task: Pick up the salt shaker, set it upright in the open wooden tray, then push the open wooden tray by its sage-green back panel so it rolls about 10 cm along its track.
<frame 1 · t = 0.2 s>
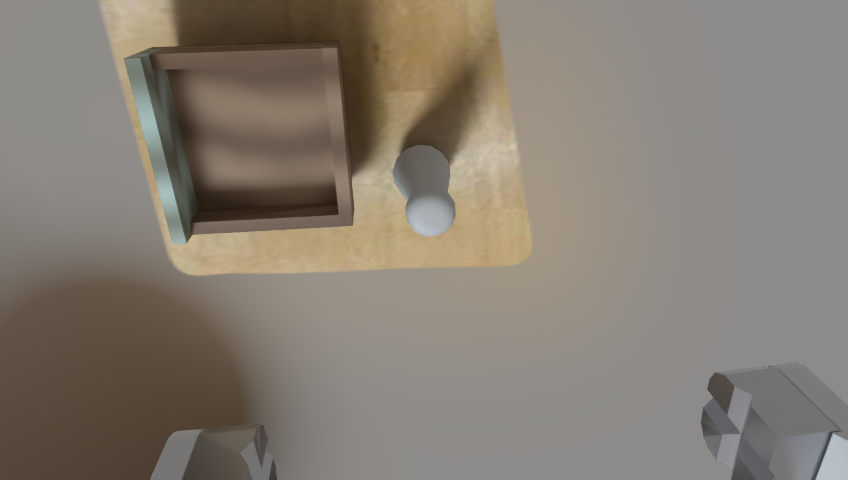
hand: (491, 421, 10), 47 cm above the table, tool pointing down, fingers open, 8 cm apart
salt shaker: (419, 164, 58), on the table
open wooden tray: (258, 138, 50), point 5 cm above the table, slide at 0.0 cm
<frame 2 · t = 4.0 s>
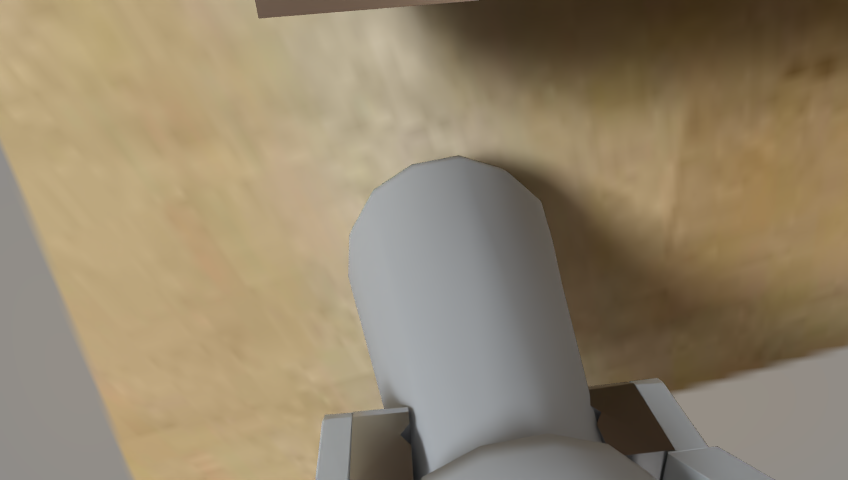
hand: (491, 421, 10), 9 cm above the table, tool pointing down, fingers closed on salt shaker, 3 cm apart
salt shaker: (440, 219, 18), on the table, touching gripper
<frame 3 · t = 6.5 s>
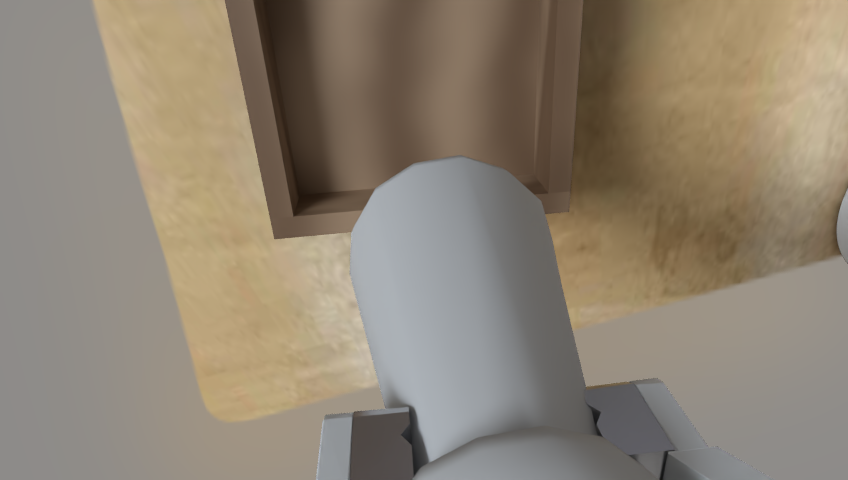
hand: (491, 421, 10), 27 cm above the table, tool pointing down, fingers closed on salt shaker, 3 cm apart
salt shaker: (441, 218, 18), point 18 cm above the table, touching gripper
open wooden tray: (410, 63, 28), point 5 cm above the table, slide at 0.0 cm
when the fingers open (15 cm above the table, at t = 9.4 s): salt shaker drops 1 cm, resting on open wooden tray.
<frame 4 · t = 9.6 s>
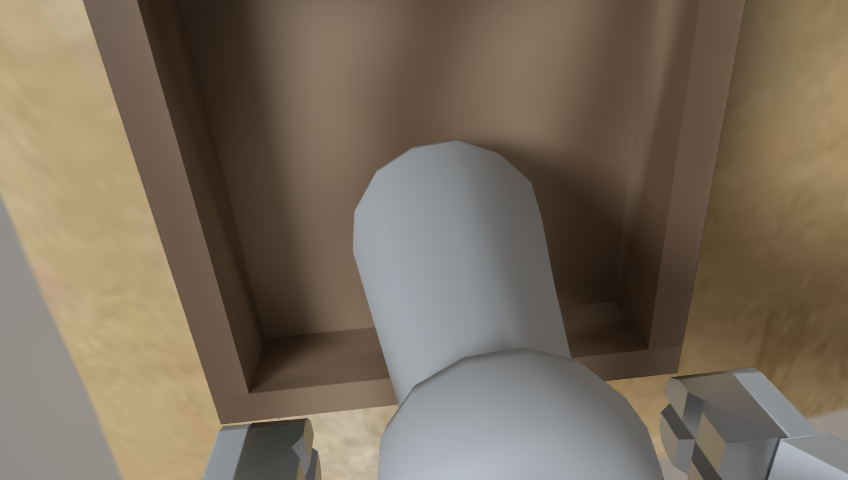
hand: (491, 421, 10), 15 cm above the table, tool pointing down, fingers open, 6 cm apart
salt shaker: (439, 204, 19), point 4 cm above the table, touching open wooden tray
open wooden tray: (431, 153, 18), point 5 cm above the table, slide at 0.1 cm, touching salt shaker
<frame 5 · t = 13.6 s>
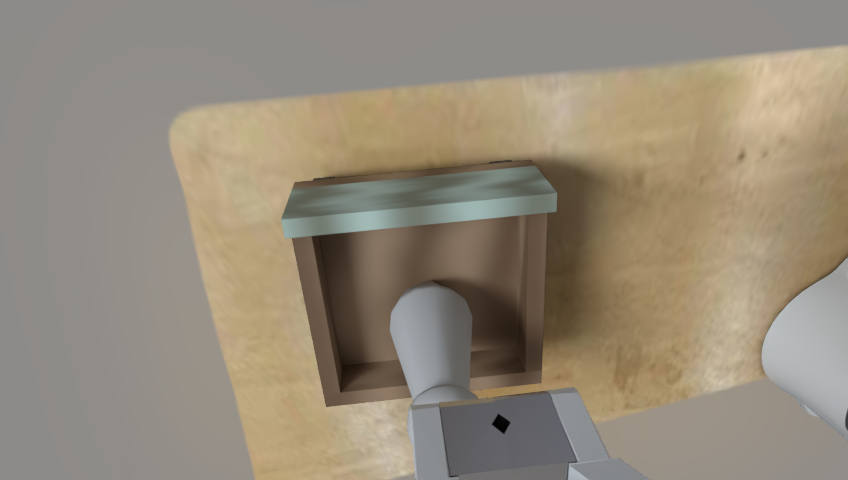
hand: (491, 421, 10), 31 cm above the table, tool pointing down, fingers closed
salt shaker: (427, 302, 41), point 4 cm above the table, touching open wooden tray
open wooden tray: (424, 283, 39), point 5 cm above the table, slide at 0.1 cm, touching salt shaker
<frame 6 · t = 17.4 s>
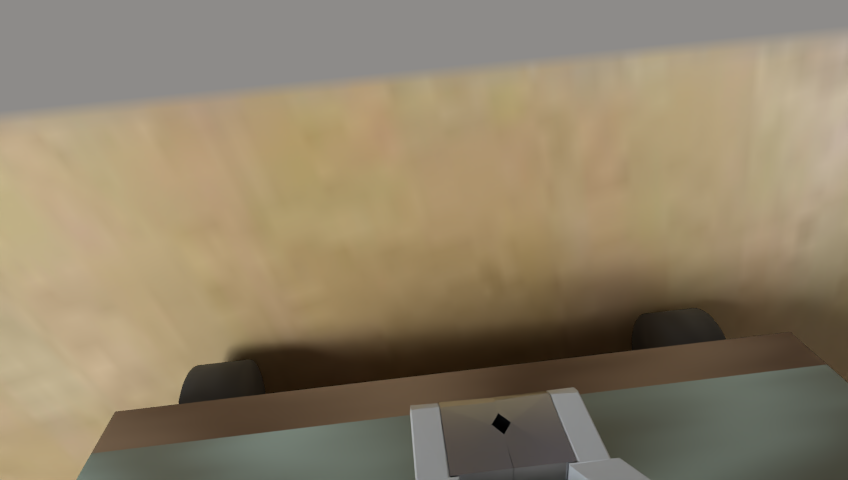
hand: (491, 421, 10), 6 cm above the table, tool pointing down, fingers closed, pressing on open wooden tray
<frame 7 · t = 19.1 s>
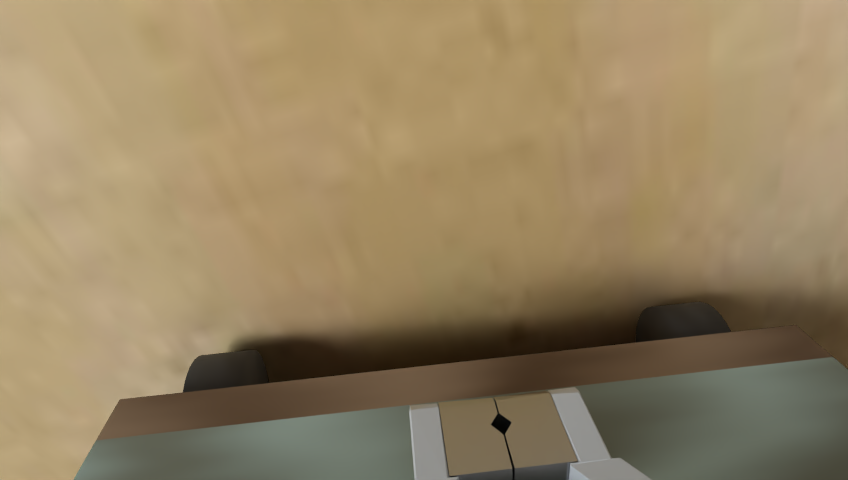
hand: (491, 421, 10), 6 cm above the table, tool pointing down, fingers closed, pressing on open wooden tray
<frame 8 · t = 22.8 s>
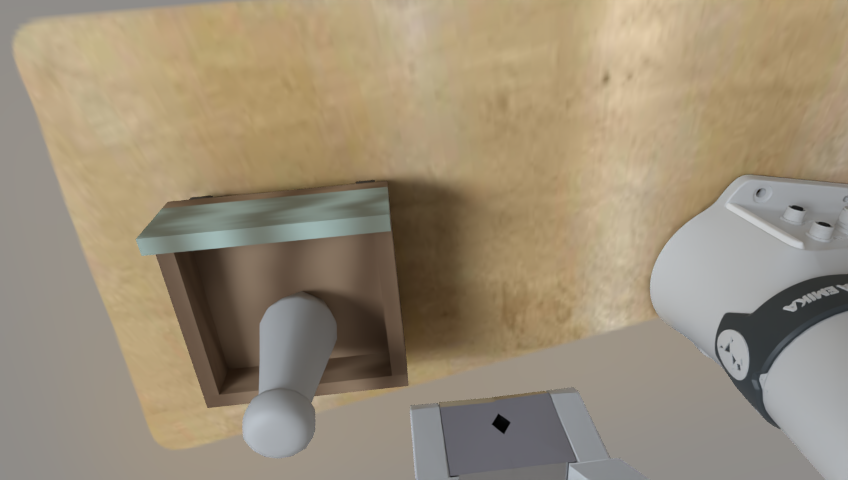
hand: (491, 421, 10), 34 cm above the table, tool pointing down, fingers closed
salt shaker: (302, 311, 44), point 4 cm above the table, touching open wooden tray
open wooden tray: (295, 294, 42), point 5 cm above the table, slide at 7.9 cm, touching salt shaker
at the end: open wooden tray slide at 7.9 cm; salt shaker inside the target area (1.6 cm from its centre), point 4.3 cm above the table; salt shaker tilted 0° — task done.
